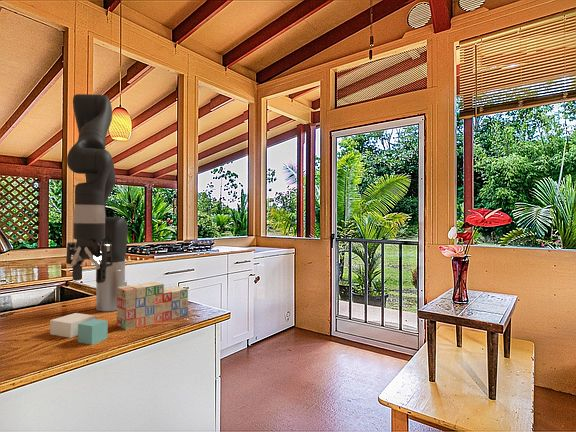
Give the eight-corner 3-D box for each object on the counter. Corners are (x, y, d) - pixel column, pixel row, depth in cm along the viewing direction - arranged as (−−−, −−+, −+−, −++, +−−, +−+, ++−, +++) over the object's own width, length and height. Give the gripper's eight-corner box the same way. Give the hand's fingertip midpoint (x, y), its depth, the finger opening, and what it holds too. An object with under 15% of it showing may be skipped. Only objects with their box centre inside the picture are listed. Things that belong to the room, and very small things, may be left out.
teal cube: (93, 336, 98) (94, 318, 98) (107, 338, 97) (107, 320, 97) (77, 342, 94) (78, 323, 94) (91, 344, 92) (92, 326, 92)
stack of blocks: (178, 312, 124) (178, 277, 124) (188, 315, 120) (188, 280, 119) (116, 326, 108) (116, 286, 108) (125, 330, 104) (125, 289, 103)
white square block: (75, 325, 107) (75, 312, 107) (95, 329, 104) (95, 315, 104) (50, 334, 99) (50, 320, 99) (70, 337, 97) (70, 323, 97)
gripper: (120, 222, 95) (119, 281, 95) (82, 221, 100) (82, 277, 100) (97, 222, 88) (96, 286, 88) (57, 221, 93) (56, 281, 93)
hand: (88, 281), depth 94 cm, fingers open, 8 cm apart
